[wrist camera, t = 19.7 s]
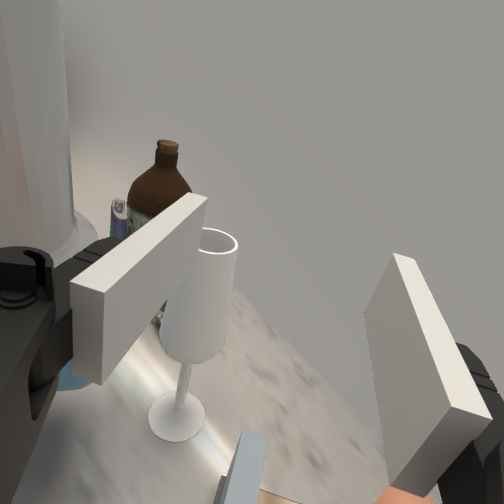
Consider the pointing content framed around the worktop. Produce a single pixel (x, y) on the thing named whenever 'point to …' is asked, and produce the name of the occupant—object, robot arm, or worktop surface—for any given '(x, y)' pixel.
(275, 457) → the worktop surface
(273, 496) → the socket block
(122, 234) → the flask
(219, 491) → the mat
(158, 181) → the olive oil
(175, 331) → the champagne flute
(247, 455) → the wall
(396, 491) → the dowel
